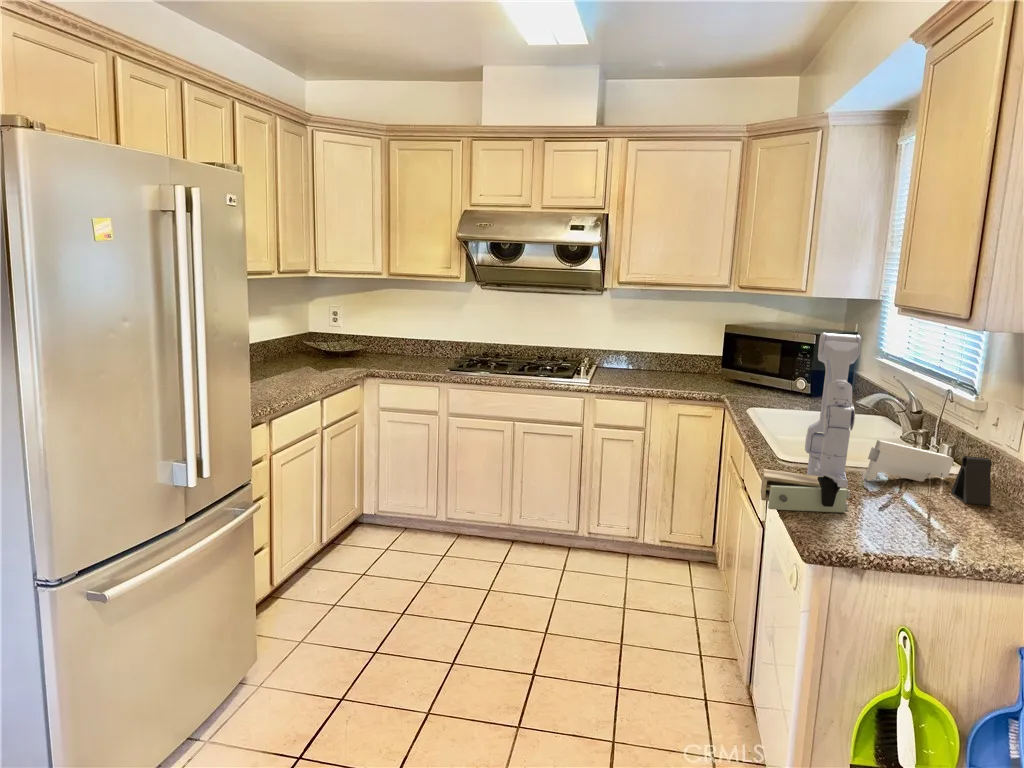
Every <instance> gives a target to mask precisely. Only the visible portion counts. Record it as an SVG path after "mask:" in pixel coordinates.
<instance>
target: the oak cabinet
mask: <svg viewBox="0 0 1024 768" xmlns="http://www.w3.org/2000/svg"><path fill="white" fill-rule="evenodd" d="M818 477H822V476H814V475H807V473H798V472H796V473H795V472H790V471H789V472H788V471H782V470H775V469H766V468H763V469H762V478H761V488H760V499H761V500H762V501H766V502H769V495H770V487H771V485H773V486H795V487H818V488H821V487H820V484H819V481H818V479H817V478H818ZM848 488H849V487H848V486H847V488H845V487H841V489H847V490H849V489H848Z"/></svg>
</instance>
